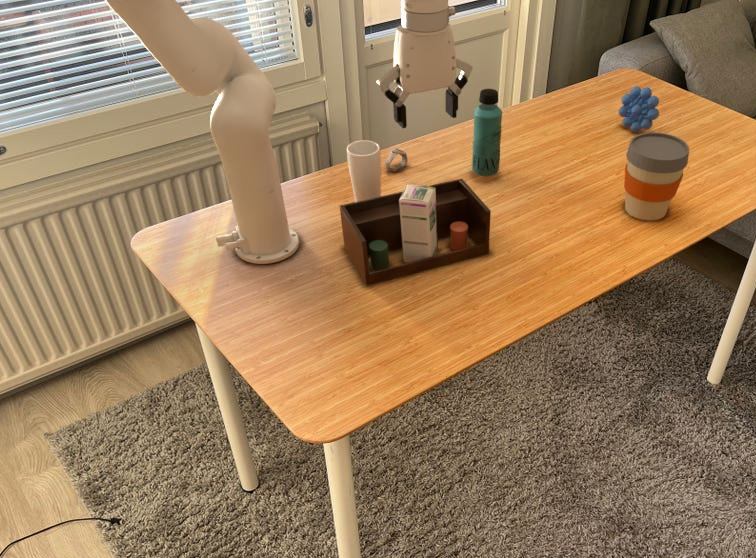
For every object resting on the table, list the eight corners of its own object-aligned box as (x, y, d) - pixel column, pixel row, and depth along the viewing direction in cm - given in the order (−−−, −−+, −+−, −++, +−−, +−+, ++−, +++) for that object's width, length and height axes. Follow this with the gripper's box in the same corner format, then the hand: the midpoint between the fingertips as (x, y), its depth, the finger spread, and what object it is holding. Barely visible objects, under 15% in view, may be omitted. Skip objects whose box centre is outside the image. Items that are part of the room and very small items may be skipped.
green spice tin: (374, 273, 137) (372, 252, 134) (368, 263, 140) (366, 242, 136) (392, 269, 138) (390, 248, 135) (385, 259, 141) (384, 238, 137)
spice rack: (366, 285, 134) (361, 241, 128) (344, 248, 143) (339, 205, 136) (488, 253, 143) (490, 210, 136) (461, 220, 151) (461, 178, 144)
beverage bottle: (467, 179, 163) (468, 94, 150) (477, 166, 168) (480, 82, 154) (493, 185, 162) (497, 100, 148) (503, 171, 166) (508, 88, 152)
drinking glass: (390, 208, 154) (386, 144, 144) (374, 223, 150) (369, 158, 139) (363, 200, 156) (357, 137, 146) (347, 215, 152) (339, 151, 141)
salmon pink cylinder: (454, 253, 142) (454, 233, 139) (447, 243, 145) (447, 223, 141) (470, 249, 144) (471, 229, 140) (463, 239, 146) (463, 219, 143)
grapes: (663, 135, 181) (673, 88, 173) (646, 143, 178) (656, 96, 169) (627, 119, 187) (635, 74, 179) (611, 126, 184) (618, 81, 176)
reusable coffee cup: (685, 209, 156) (702, 145, 145) (654, 232, 149) (670, 167, 139) (637, 188, 162) (650, 126, 151) (605, 209, 155) (616, 145, 145)
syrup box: (431, 266, 139) (429, 202, 129) (402, 262, 140) (398, 198, 130) (437, 250, 143) (437, 186, 133) (409, 246, 144) (406, 182, 134)
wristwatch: (410, 166, 167) (409, 147, 164) (392, 176, 164) (391, 156, 160) (400, 161, 169) (399, 142, 165) (381, 171, 165) (380, 151, 162)
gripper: (462, 4, 119) (460, 102, 131) (365, 18, 113) (373, 120, 125) (483, 18, 114) (479, 119, 126) (383, 33, 108) (389, 138, 120)
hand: (426, 119), depth 126 cm, fingers open, 9 cm apart
